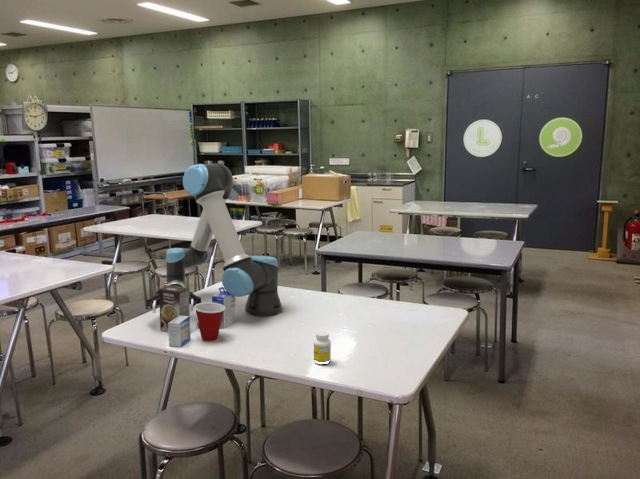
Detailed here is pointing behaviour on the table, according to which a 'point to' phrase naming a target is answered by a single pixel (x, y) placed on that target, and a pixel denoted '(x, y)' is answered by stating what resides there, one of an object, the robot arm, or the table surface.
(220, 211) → the robot arm
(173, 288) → the coffee box
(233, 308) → the ink cartridge box
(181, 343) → the medicine box
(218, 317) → the plastic cup
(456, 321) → the table surface
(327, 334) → the supplement bottle
